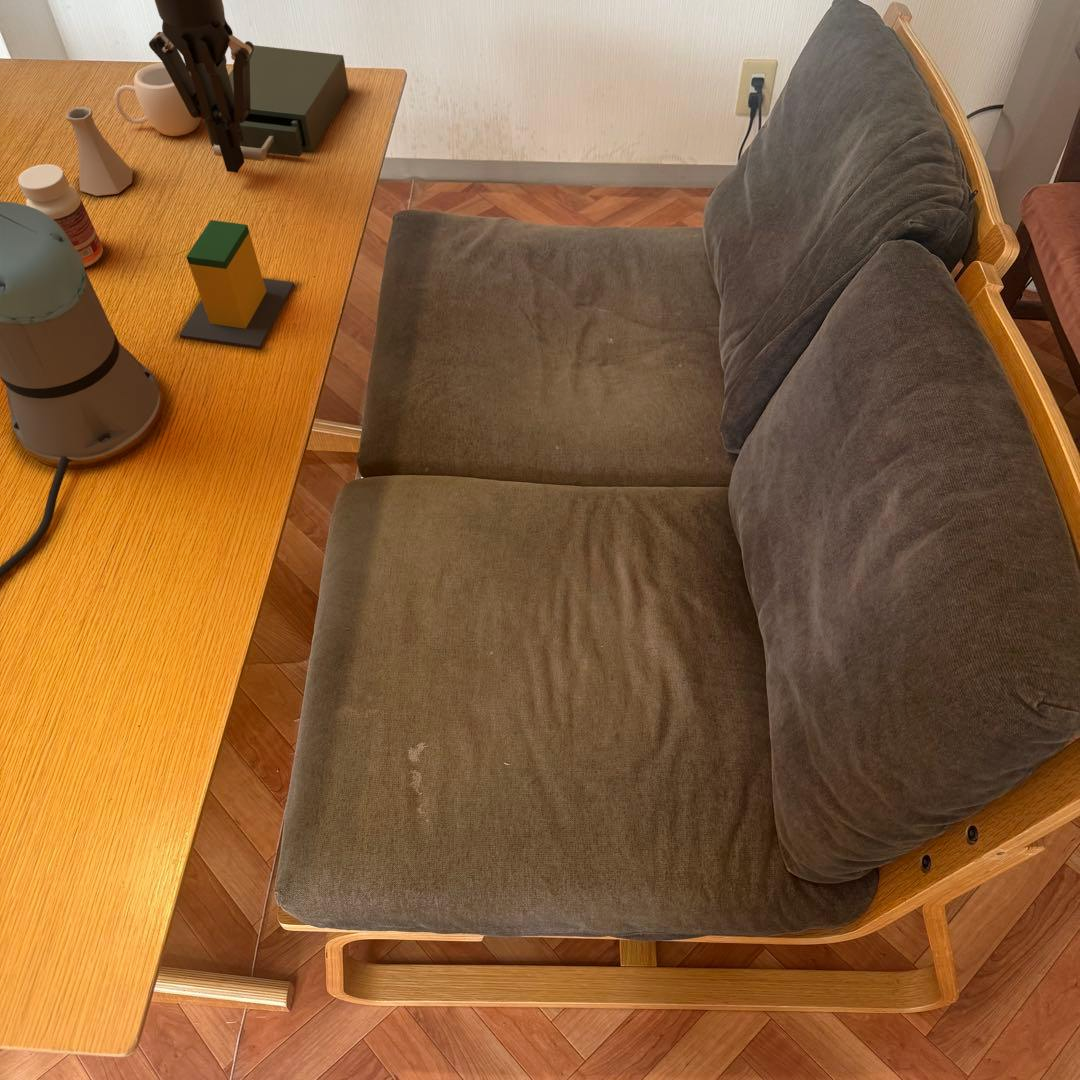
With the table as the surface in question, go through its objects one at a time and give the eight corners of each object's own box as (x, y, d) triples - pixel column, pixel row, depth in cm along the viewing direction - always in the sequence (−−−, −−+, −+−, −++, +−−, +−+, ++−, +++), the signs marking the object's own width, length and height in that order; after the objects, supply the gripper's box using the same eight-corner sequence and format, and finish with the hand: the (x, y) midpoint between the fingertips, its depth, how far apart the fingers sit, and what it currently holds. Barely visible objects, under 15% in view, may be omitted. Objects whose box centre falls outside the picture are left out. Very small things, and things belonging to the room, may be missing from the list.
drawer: (287, 177, 124) (281, 151, 121) (196, 166, 126) (188, 140, 123) (336, 98, 137) (332, 73, 134) (253, 88, 138) (247, 63, 135)
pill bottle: (109, 241, 117) (74, 160, 108) (97, 271, 113) (60, 190, 104) (61, 241, 116) (22, 161, 107) (47, 271, 113) (6, 190, 104)
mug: (210, 110, 136) (194, 57, 130) (204, 141, 131) (188, 87, 125) (129, 114, 135) (109, 61, 128) (120, 145, 130) (100, 91, 124)
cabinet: (312, 152, 130) (304, 115, 125) (217, 140, 131) (206, 103, 127) (349, 91, 140) (343, 54, 135) (260, 81, 141) (251, 44, 137)
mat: (260, 349, 105) (259, 346, 105) (180, 337, 106) (178, 334, 106) (294, 285, 112) (294, 282, 112) (219, 275, 113) (218, 272, 113)
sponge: (245, 329, 107) (224, 261, 99) (210, 324, 107) (185, 256, 99) (266, 291, 111) (247, 224, 103) (232, 287, 111) (210, 219, 103)
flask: (142, 169, 126) (116, 100, 118) (123, 199, 122) (94, 129, 114) (92, 166, 127) (63, 96, 119) (71, 195, 122) (40, 125, 114)
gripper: (248, -30, 105) (290, 157, 124) (144, -40, 106) (201, 146, 126) (223, -1, 101) (271, 187, 120) (115, -13, 102) (179, 176, 121)
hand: (235, 166), depth 123 cm, fingers closed
